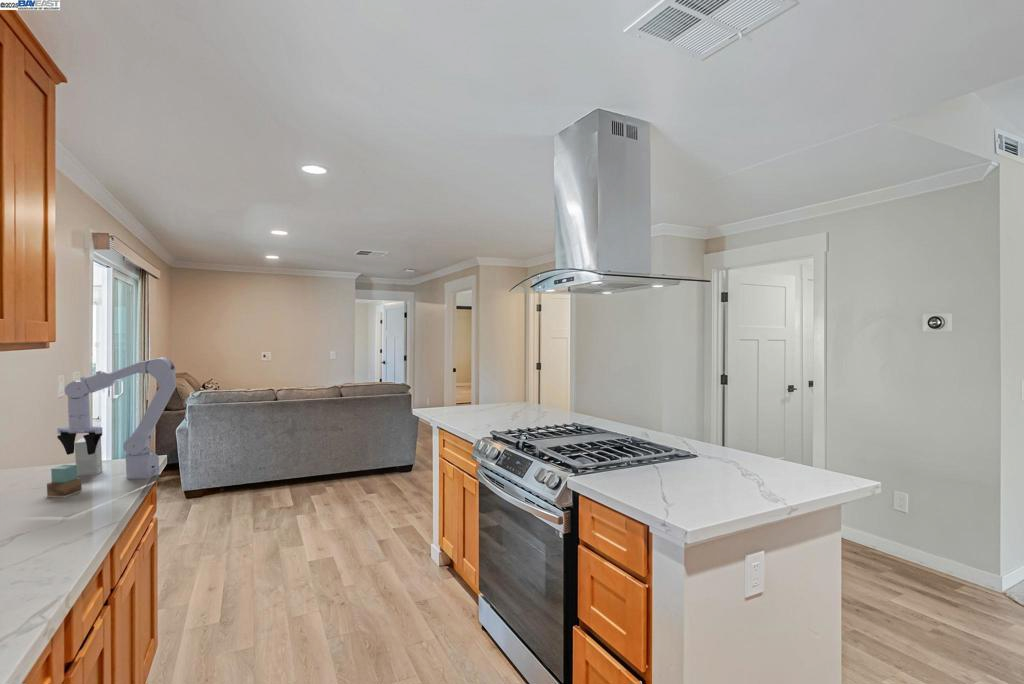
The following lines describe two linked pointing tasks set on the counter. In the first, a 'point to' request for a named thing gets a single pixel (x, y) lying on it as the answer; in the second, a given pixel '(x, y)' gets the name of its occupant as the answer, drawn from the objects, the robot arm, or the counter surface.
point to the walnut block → (64, 488)
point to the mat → (63, 496)
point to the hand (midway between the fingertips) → (80, 453)
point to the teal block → (64, 473)
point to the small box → (88, 459)
